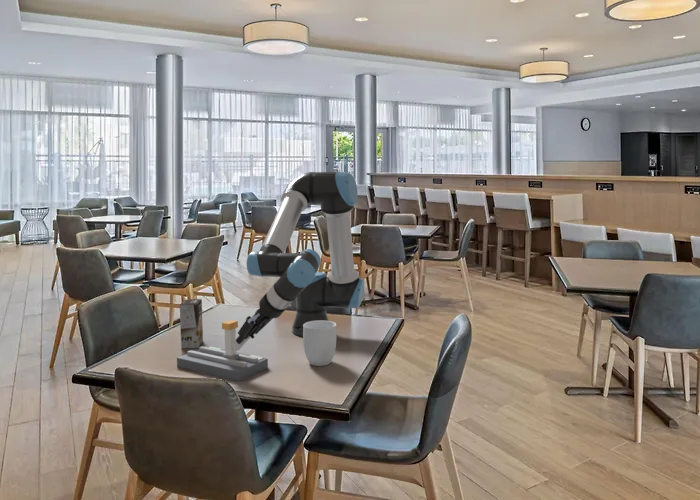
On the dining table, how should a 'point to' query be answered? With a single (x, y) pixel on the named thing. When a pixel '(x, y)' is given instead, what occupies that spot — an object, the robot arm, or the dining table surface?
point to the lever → (230, 339)
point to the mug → (319, 341)
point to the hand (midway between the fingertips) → (235, 347)
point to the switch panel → (222, 363)
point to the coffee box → (191, 323)
